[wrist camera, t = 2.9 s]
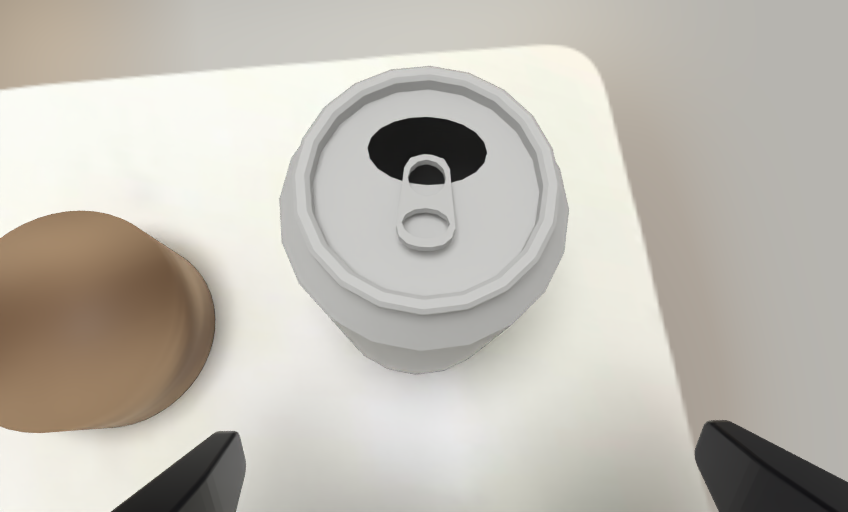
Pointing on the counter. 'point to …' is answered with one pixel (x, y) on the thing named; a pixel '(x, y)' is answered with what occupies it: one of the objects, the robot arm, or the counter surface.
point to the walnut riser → (96, 324)
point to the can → (423, 215)
